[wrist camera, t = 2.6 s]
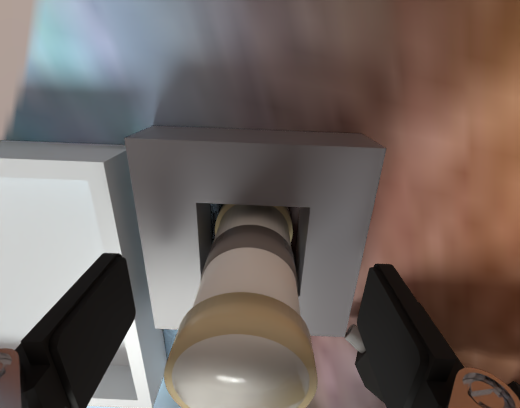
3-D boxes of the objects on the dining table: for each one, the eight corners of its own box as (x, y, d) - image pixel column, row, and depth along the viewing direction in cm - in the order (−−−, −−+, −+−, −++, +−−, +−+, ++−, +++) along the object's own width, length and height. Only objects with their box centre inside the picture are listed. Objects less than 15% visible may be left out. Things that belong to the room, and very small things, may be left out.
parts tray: (-146, 134, 14) (-245, 148, 11) (135, 145, 14) (103, 162, 11) (-24, 356, 21) (-68, 398, 18) (167, 364, 21) (152, 408, 18)
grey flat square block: (153, 125, 14) (124, 137, 11) (362, 133, 14) (386, 148, 11) (172, 289, 18) (155, 328, 15) (332, 296, 18) (344, 337, 15)
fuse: (217, 186, 15) (155, 323, 7) (293, 189, 15) (327, 332, 7) (219, 251, 16) (171, 424, 8) (288, 253, 16) (308, 431, 8)
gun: (372, 268, 24) (356, 341, 15) (586, 417, 19) (747, 648, 10) (353, 292, 25) (327, 373, 16) (551, 438, 20) (669, 663, 11)
